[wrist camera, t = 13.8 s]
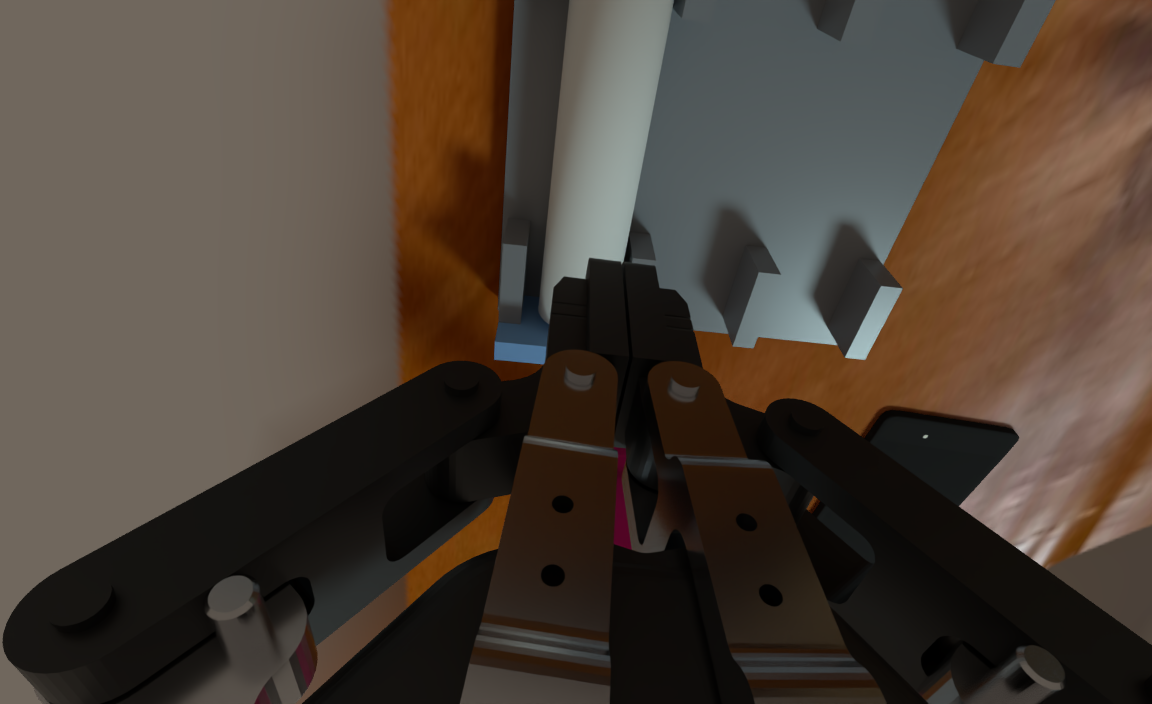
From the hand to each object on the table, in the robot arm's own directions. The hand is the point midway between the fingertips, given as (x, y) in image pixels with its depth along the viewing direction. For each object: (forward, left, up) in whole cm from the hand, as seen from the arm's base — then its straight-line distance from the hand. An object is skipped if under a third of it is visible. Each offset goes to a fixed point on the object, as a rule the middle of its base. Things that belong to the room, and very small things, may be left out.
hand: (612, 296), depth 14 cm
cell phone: (-6, +33, -15) cm, 36 cm away
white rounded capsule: (0, 0, -13) cm, 13 cm away
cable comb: (-4, +3, -14) cm, 15 cm away
